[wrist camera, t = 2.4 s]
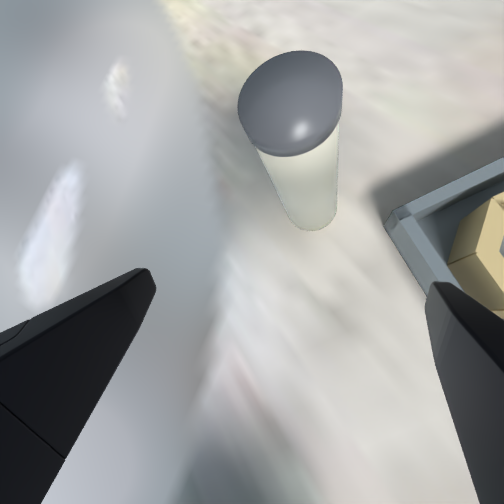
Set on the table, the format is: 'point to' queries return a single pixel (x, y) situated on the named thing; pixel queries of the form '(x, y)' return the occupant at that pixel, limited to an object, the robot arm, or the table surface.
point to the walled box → (457, 235)
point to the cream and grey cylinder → (297, 131)
